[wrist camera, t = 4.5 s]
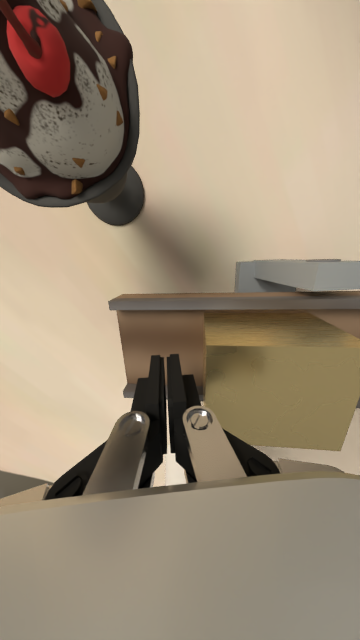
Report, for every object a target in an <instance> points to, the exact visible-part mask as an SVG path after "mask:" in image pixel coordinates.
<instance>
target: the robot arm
mask: <svg viewBox="0 0 360 640" xmlns="http://www.w3.org/2000/svg"><path fill="white" fill-rule="evenodd" d="M167 391H168V415H169V433H170V451H171V453H175V459H176V462H177V463H178V464H179V465H180V466H181V467H182V468H184V475H185V479H186V484H177V485H168V486H160V487H153V483H154V477H155V470H156V469H157V468H158V467H159V466H160V464H161V463H163V454H167V418H166V386H165V368H164V357H160V355H151V361H150V368H149V376H148V377H146V378H138V380H137V385H136V389H135V394H134V399H133V403H132V408H131V412H128V413H126V414H124V415H122V416H121V417H120V418H119V419H118V420H117V422H116V423H115V426H114V428H113V430H112V432H111V434H110V436H109V438H108V440H107V441H106V442H104V443H103V444H102V445H100V446H99V447H98V448H97V449H95V450H94V451H93V452H92V453H90V454H89V455H88V456H86V457H85V458H84V459H83V460H81V461H80V462H79V463H78V464H76V465H75V466H74V467H72V468H71V469H70V470H69V471H67V472H66V473H65V474H64V475H62V476H61V477H60V478H59V479H58V480H57V481H56V482H55V483H54V484H53V485H51V486H48V484H47V483H46V484H43V485H40V486H38V487H34V488H31V489H28V490H25V491H22V492H19V493H17V494H14V495H11V496H7V497H5V498H1V499H0V640H360V475H354V474H348V473H345V472H343V471H341V470H339V469H338V468H336V467H332V466H329V465H322V464H315V463H308V462H301V461H294V460H286V459H279V458H278V461H272V459H270V458H269V457H268V456H267V455H265V454H264V453H262V452H260V451H259V450H257V449H255V448H254V447H252V446H251V445H249V444H247V443H246V442H244V441H242V440H241V439H239V438H237V437H236V436H234V435H233V434H231V433H229V432H228V431H226V430H224V429H223V428H222V427H221V425H220V423H219V422H218V420H217V418H216V416H215V414H214V413H213V411H211V410H210V409H209V408H207V407H204V406H201V403H200V399H199V395H198V391H197V387H196V383H195V379H194V376H193V374H189V375H182V372H181V365H180V359H179V354H170V357H167Z"/></svg>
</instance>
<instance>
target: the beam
mask: <svg viewBox="0 0 360 640" xmlns="http://www.w3.org/2000/svg"><path fill="white" fill-rule="evenodd" d="M108 303H109V309H110V310H117V317H118V323H119V330H120V337H121V343H122V350H123V357H124V363H125V370H126V376H127V385H126V387H125V389H124V391H123V395H124V398H134V394H135V389H136V385H137V380H138V378H146V377H148V376H149V368H150V361H151V355H160V357H164V368H165V386H166V399H167V400H168V391H167V357H170V354H179V359H180V365H181V372H182V375H189V374H193V376H194V379H195V383H196V387H197V391H198V395H199V399H200V401H203V324H204V313H310V314H312V315H314V316H316V317H318V318H320V319H322V320H324V321H326V322H328V323H330V324H332V325H334V326H335V327H337V328H339V329H341V330H343V331H345V332H347V333H349V334H351V335H353V336H355V337H357V338H359V339H360V291H323V292H250V293H176V294H122V295H120V296H118V297H116V298H114V299H112V300H110V301H108ZM356 408H360V397H359V400H358V403H357V406H356Z"/></svg>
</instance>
